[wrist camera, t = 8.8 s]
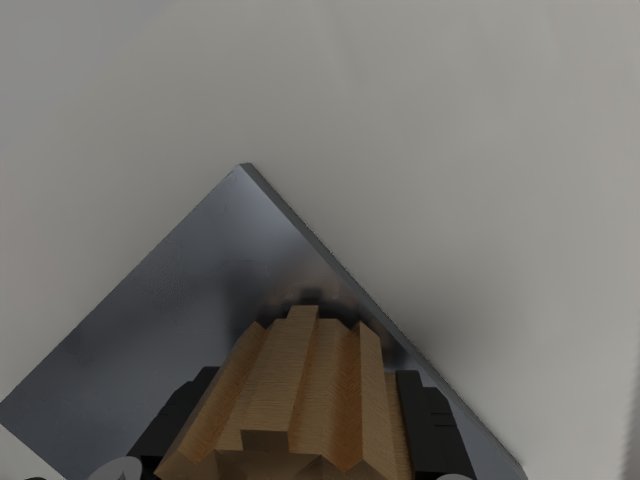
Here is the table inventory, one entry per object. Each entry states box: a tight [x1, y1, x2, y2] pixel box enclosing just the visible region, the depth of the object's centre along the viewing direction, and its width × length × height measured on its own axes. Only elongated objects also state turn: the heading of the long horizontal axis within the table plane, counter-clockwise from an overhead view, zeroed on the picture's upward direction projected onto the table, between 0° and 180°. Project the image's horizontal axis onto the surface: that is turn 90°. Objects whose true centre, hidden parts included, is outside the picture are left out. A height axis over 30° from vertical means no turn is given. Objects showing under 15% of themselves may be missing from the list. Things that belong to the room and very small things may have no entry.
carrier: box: [0, 163, 528, 480], centre depth 13 cm, size 17×17×5 cm
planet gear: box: [154, 305, 413, 480], centre depth 9 cm, size 6×6×5 cm
